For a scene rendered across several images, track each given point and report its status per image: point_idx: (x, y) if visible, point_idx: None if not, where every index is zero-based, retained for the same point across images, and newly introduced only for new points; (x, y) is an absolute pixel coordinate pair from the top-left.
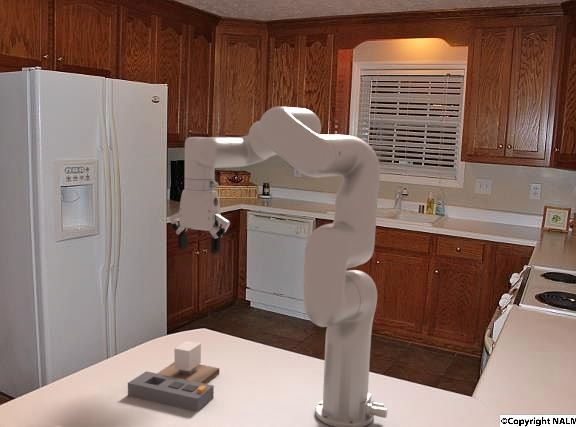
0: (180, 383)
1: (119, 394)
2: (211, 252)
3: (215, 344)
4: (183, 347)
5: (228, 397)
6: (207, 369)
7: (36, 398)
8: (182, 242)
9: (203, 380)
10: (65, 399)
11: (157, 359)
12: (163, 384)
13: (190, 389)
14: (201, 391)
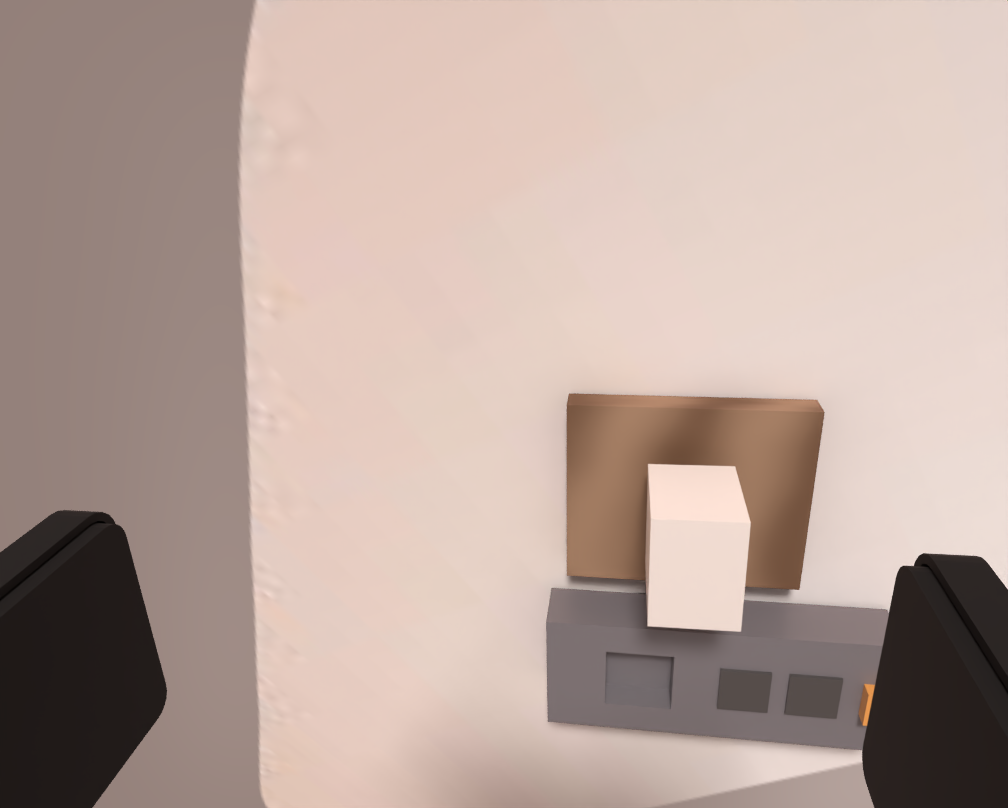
0: (755, 678)
1: (514, 676)
2: (874, 781)
3: (599, 3)
4: (685, 601)
5: None
6: (769, 447)
7: (301, 763)
8: (71, 778)
9: (803, 552)
10: (382, 747)
11: (430, 360)
12: (687, 695)
13: (823, 710)
14: None
